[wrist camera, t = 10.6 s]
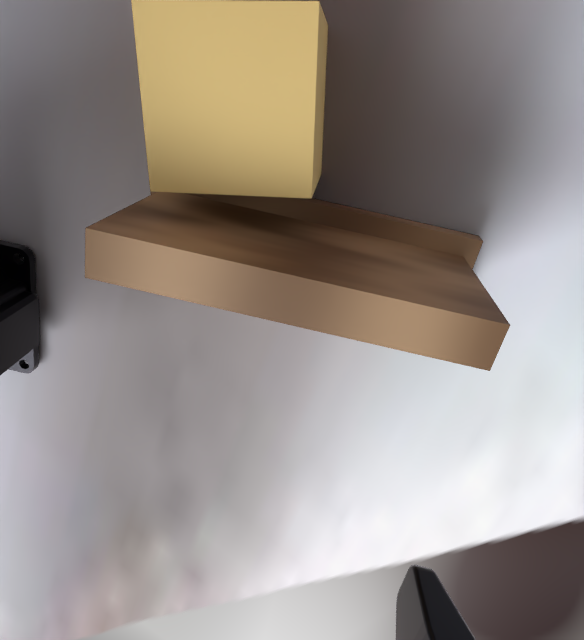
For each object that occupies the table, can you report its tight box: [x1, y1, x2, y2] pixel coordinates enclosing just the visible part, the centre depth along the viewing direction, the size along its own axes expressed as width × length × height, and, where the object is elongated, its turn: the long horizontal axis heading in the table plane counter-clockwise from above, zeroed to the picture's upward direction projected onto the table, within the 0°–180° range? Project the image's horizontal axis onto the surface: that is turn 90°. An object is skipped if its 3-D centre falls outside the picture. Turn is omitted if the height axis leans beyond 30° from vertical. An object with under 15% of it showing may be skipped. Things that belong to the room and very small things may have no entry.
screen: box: [85, 191, 510, 371], centre depth 17 cm, size 13×3×7 cm, turn 79°
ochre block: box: [131, 0, 328, 199], centre depth 16 cm, size 5×5×5 cm
